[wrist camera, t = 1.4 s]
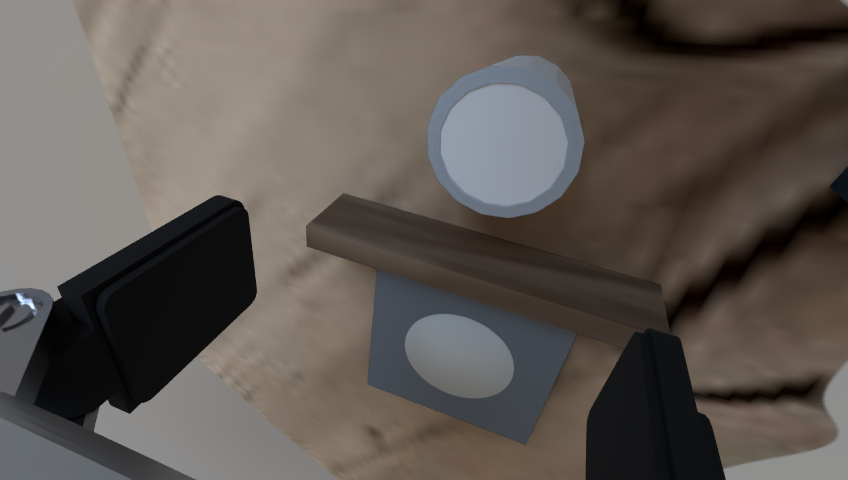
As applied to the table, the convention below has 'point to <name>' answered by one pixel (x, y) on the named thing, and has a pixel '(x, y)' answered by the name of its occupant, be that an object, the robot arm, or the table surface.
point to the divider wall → (490, 270)
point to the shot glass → (507, 137)
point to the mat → (463, 356)
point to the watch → (841, 185)
